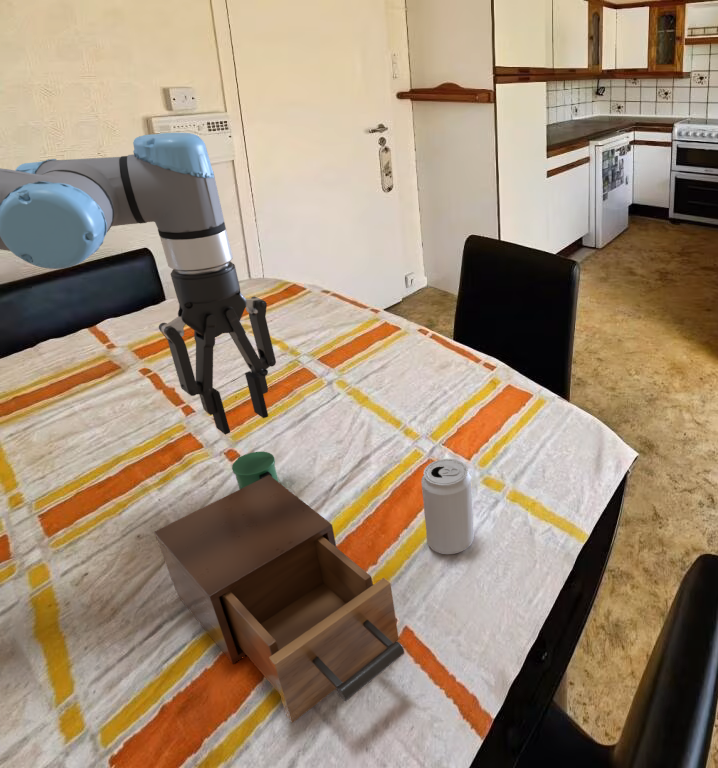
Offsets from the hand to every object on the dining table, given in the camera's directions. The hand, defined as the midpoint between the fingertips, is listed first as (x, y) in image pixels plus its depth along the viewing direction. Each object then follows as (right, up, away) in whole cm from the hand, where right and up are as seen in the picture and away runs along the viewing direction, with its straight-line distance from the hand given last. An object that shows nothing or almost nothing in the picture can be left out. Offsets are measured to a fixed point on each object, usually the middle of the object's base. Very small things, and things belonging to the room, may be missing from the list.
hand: (242, 421), depth 90 cm
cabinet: (+7, -21, -12) cm, 25 cm away
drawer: (+19, -25, -21) cm, 38 cm away
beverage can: (+30, -16, -4) cm, 35 cm away
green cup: (0, -11, +6) cm, 13 cm away
